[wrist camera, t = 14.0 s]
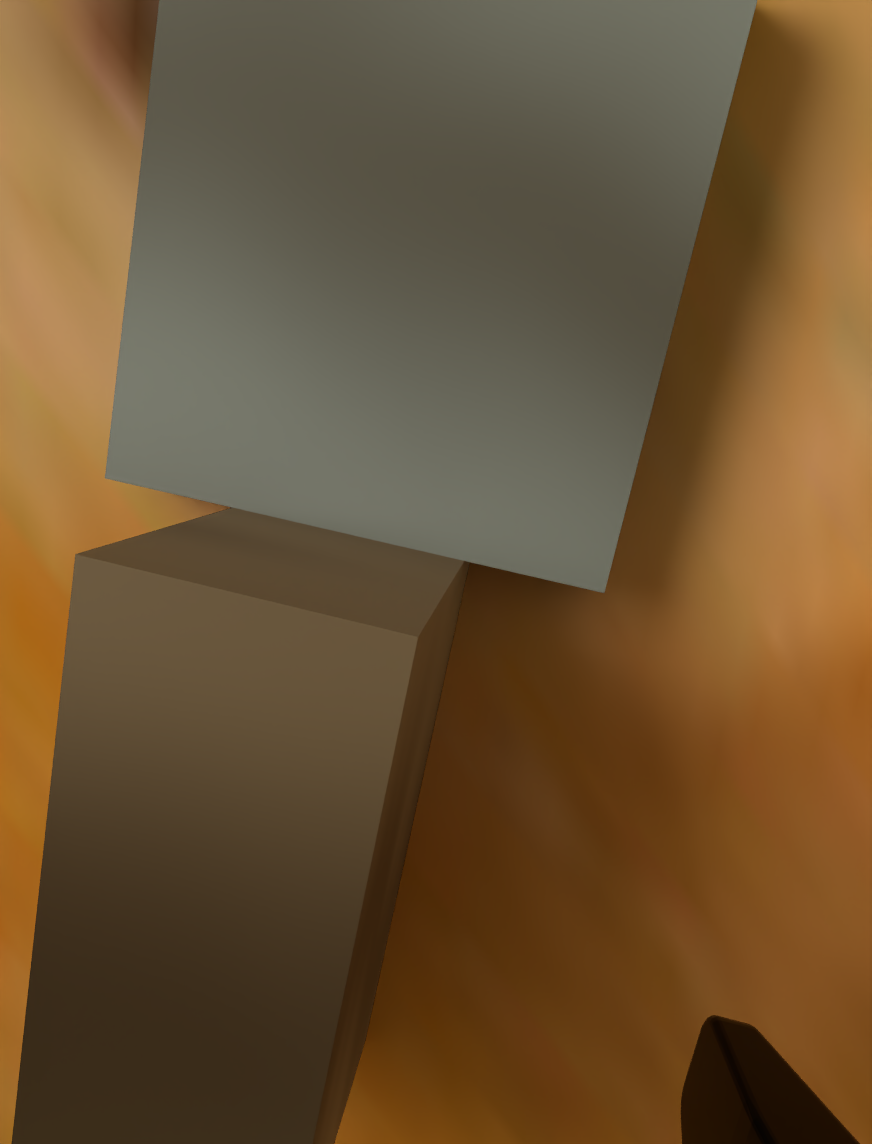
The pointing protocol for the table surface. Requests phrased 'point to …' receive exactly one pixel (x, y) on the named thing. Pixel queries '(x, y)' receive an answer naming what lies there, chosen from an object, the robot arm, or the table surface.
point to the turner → (336, 503)
